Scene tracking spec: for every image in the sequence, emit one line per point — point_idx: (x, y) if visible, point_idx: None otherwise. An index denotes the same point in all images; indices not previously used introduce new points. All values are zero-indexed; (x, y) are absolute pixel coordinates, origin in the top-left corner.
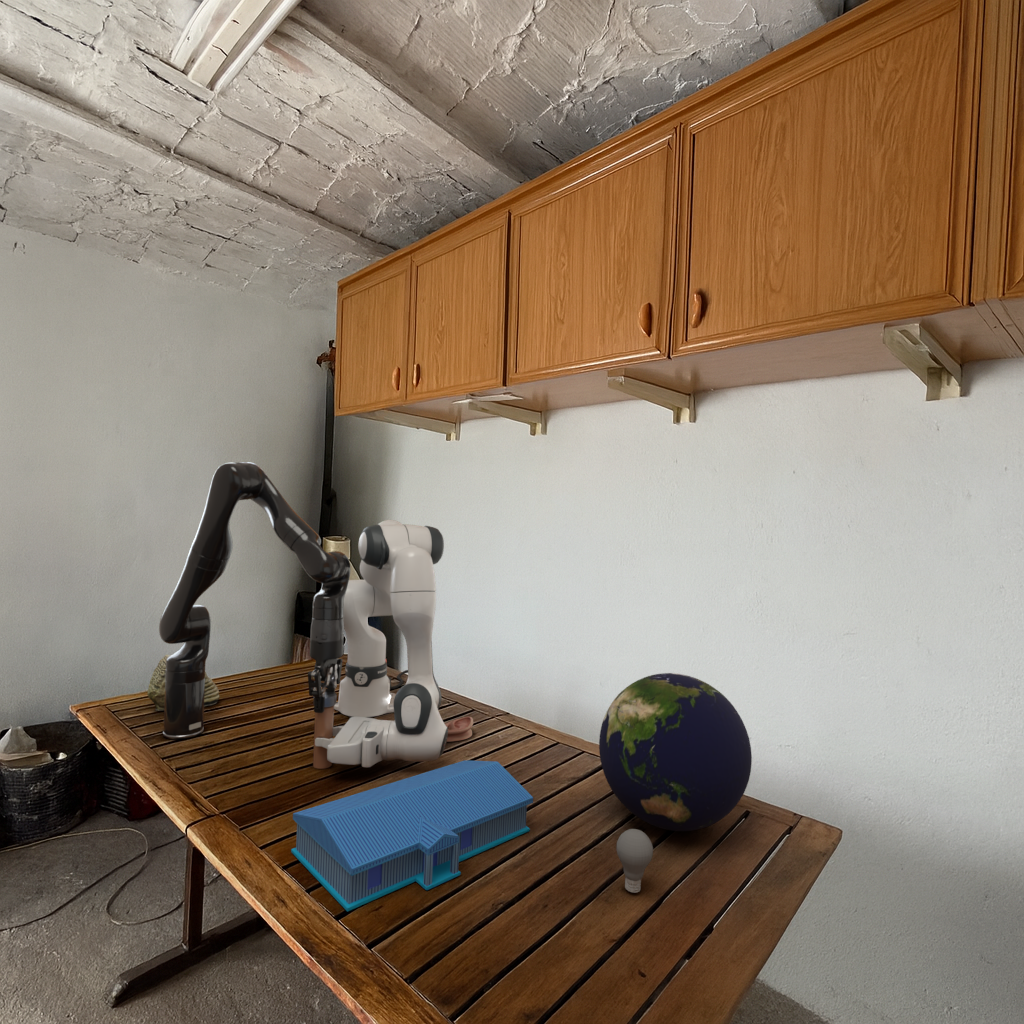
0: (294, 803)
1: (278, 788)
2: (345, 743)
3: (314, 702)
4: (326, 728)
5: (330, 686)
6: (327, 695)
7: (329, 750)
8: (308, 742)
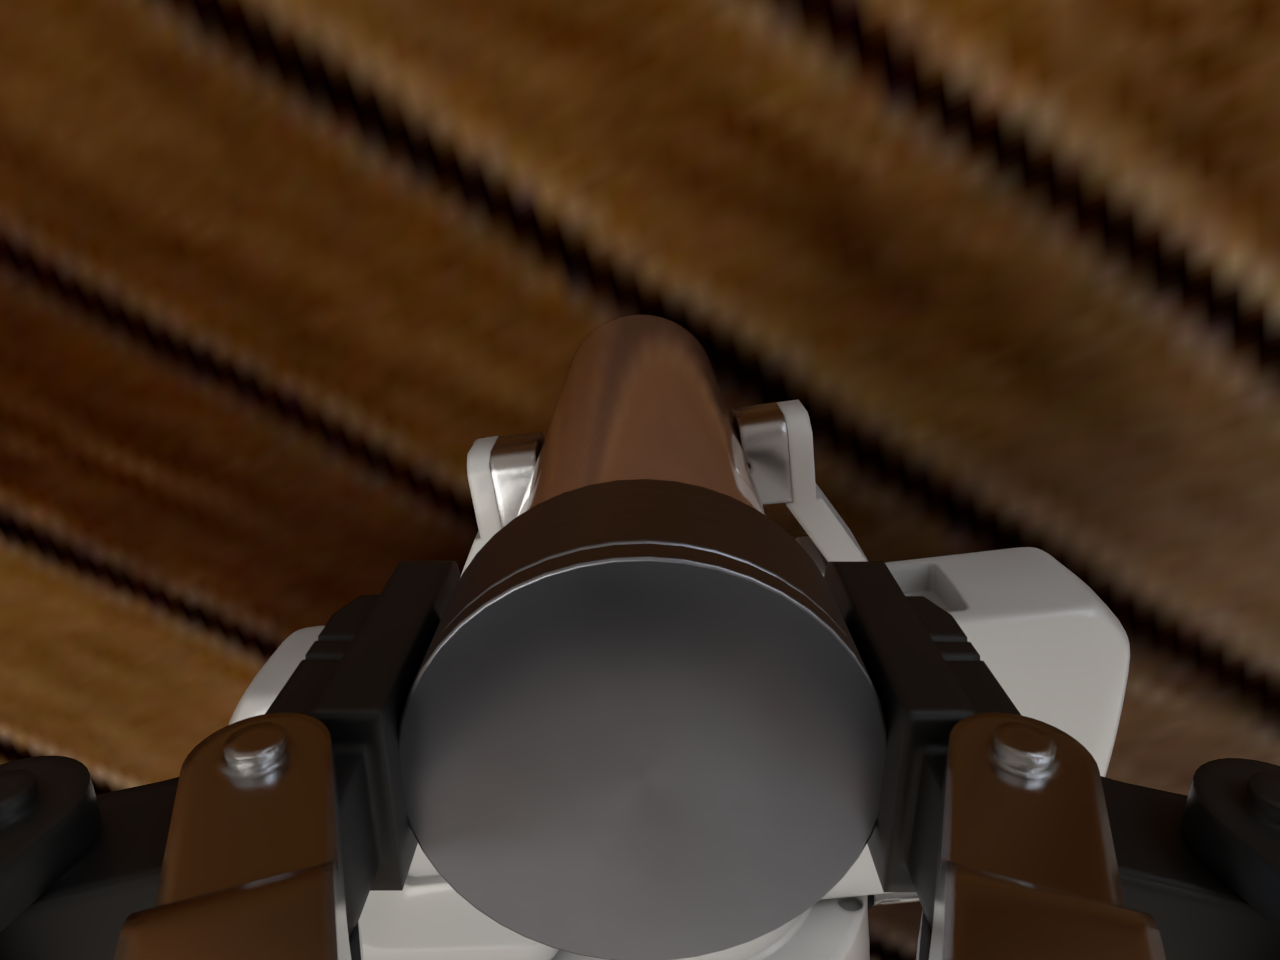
0: (24, 471)
1: (159, 251)
2: None
3: (355, 641)
4: None
5: (934, 874)
6: (598, 841)
7: (234, 711)
8: (1113, 27)
